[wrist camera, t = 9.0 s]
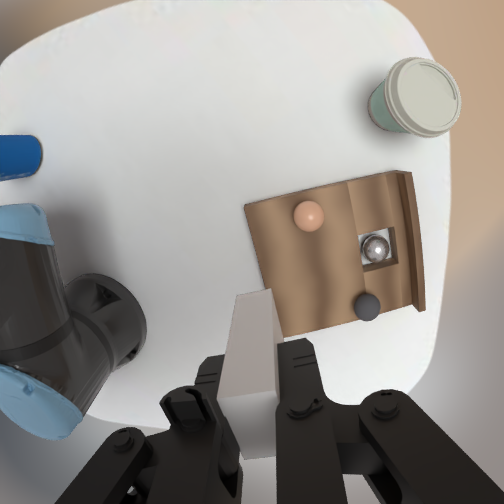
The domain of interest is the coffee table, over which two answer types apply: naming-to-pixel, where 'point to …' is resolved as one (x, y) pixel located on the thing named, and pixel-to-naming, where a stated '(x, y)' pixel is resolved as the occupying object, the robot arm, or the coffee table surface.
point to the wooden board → (339, 251)
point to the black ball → (367, 307)
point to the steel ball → (375, 248)
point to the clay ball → (309, 216)
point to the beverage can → (18, 156)
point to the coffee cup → (416, 99)
